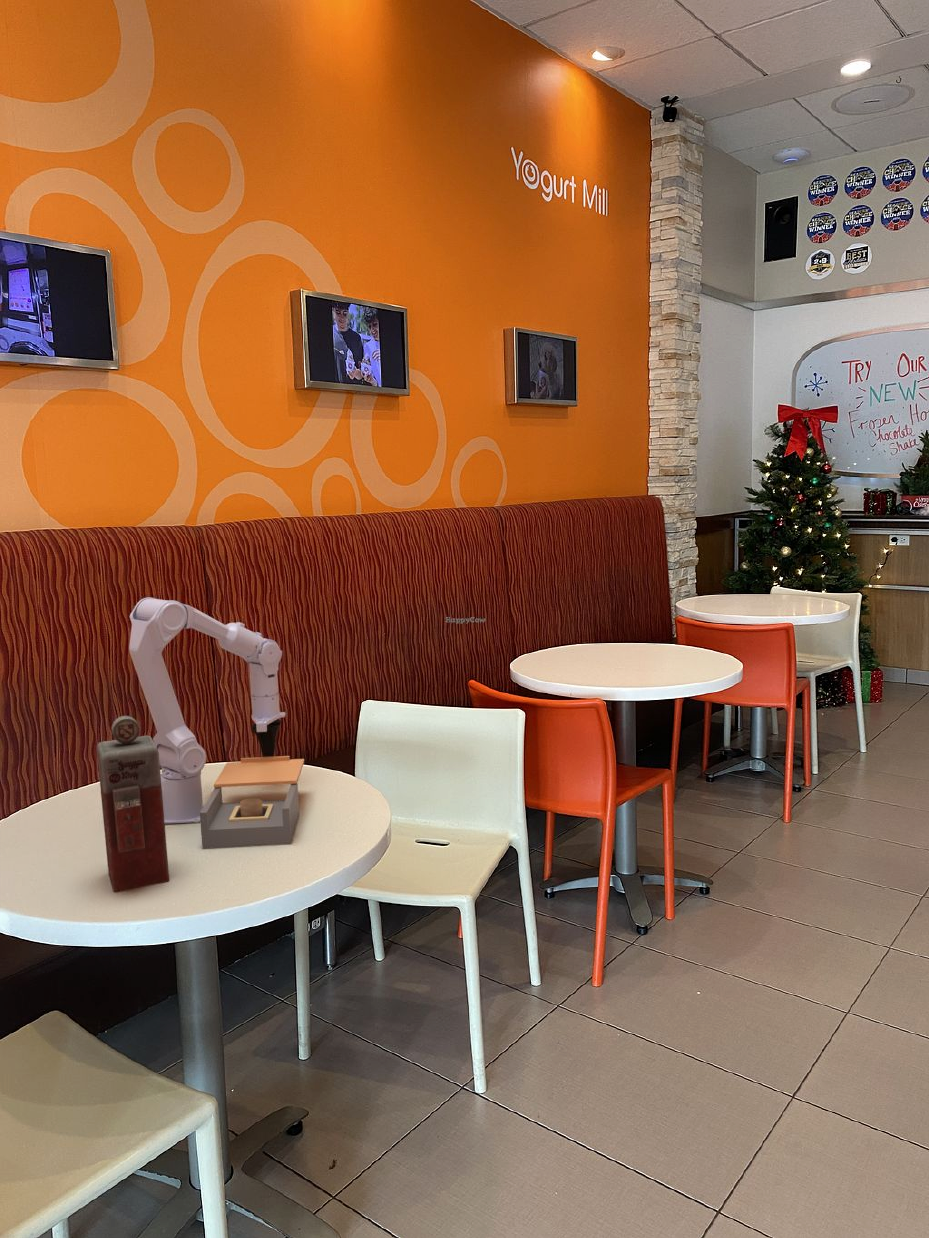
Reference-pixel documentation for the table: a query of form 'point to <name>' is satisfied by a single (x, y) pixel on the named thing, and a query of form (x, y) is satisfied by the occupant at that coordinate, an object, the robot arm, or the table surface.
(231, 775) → the lid
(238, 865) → the table surface
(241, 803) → the brown cylinder
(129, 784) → the vintage gas pump
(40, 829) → the table surface
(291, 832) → the housing
